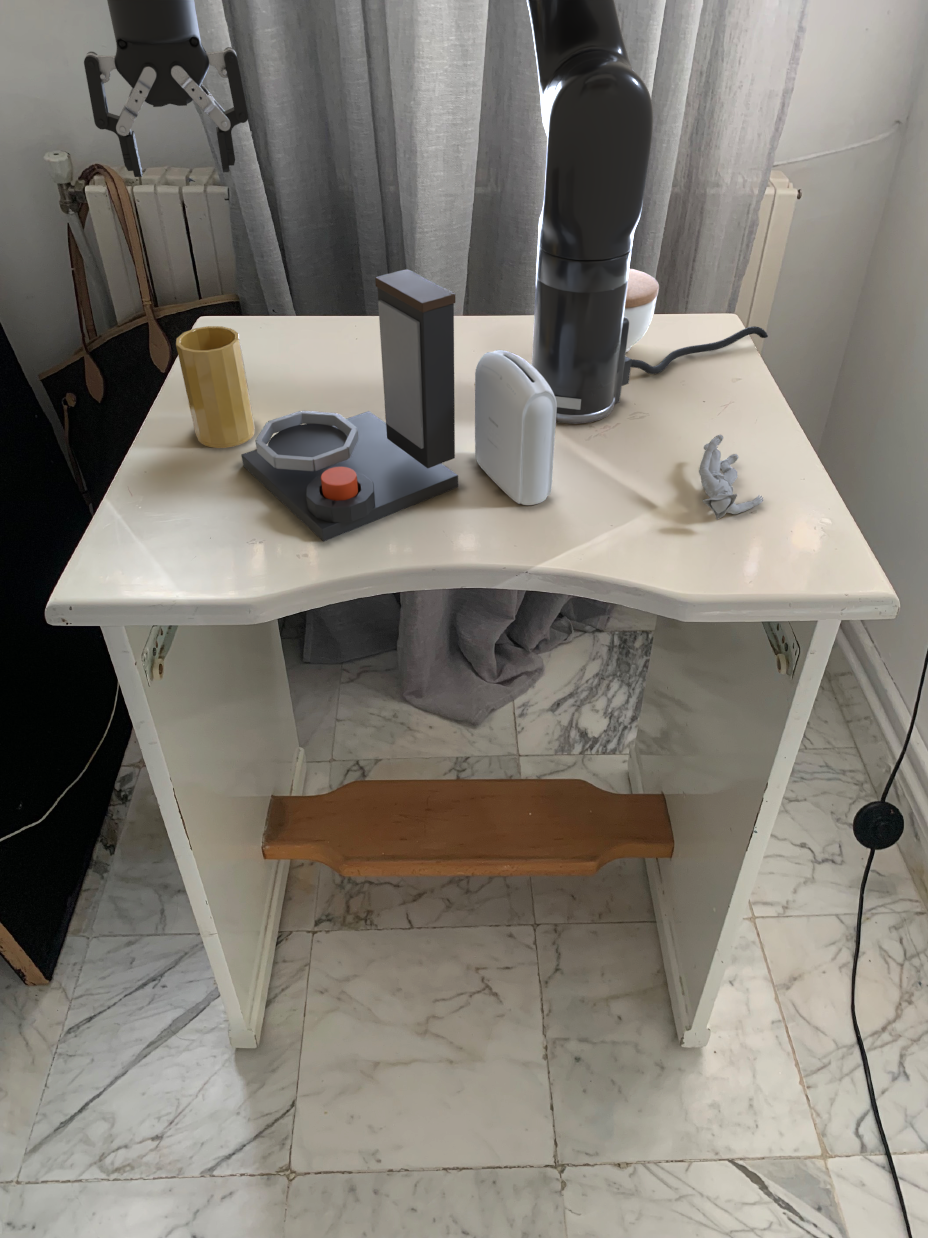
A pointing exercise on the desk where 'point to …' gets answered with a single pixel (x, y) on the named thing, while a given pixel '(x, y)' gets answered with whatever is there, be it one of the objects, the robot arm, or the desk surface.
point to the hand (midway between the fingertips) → (183, 172)
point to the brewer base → (380, 478)
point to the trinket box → (639, 304)
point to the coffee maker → (388, 386)
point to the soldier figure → (721, 481)
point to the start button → (339, 483)
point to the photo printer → (514, 426)
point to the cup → (216, 386)
